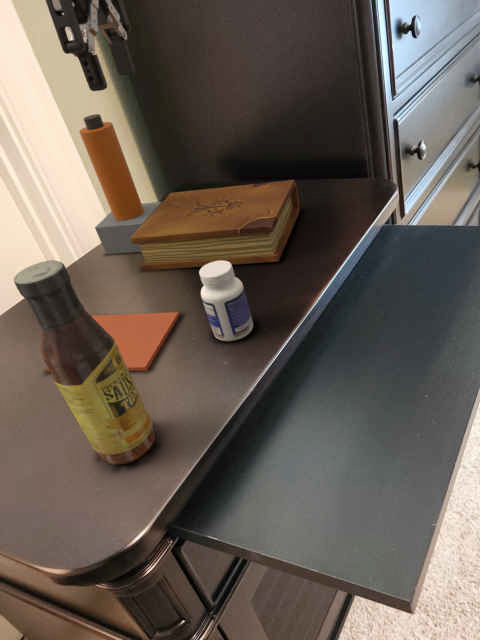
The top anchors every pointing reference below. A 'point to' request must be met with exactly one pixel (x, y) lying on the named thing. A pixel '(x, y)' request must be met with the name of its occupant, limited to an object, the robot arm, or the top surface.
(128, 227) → the grey stand
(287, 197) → the diary
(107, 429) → the sauce bottle
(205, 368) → the top surface
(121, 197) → the amber bottle
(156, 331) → the mat
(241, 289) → the pill bottle
